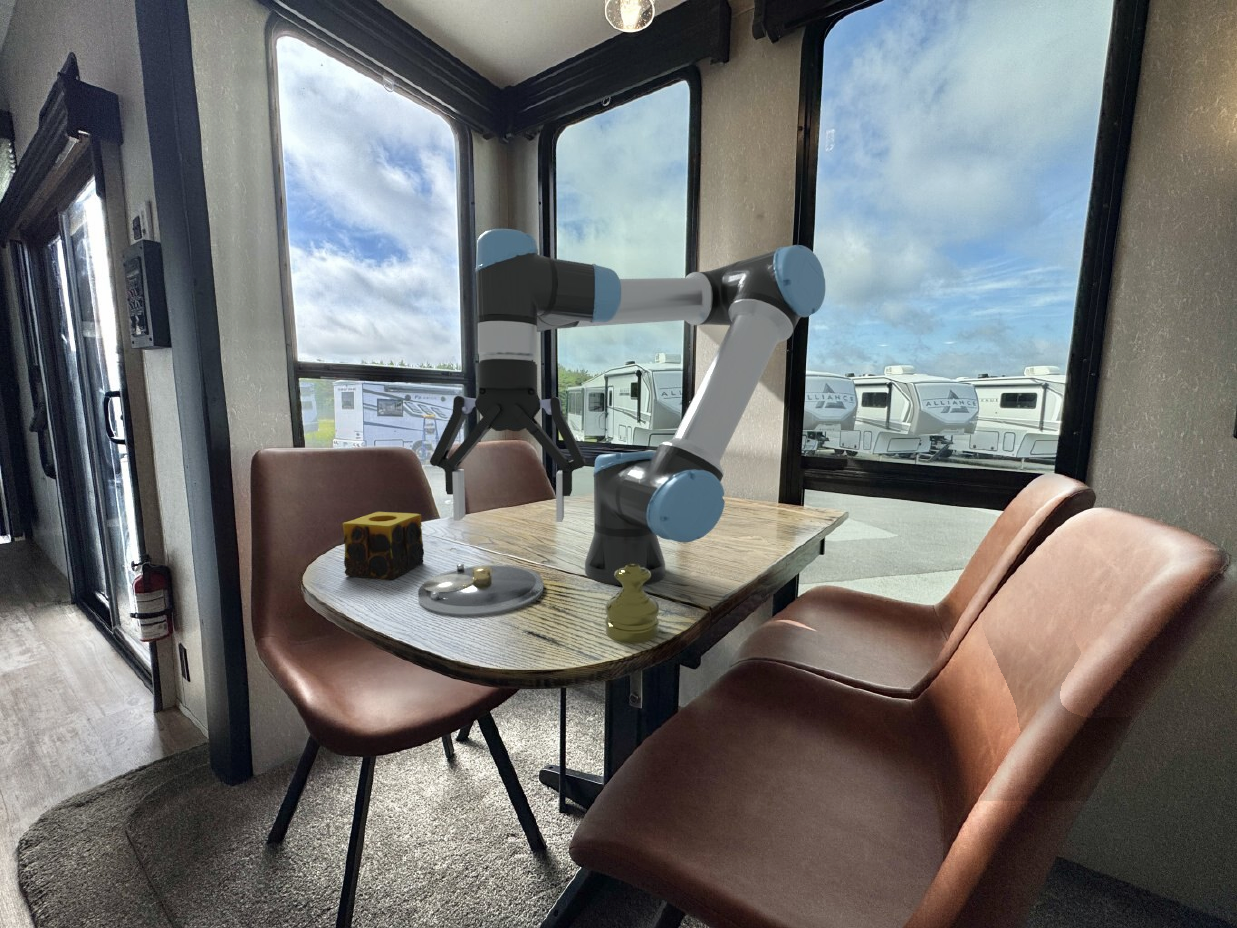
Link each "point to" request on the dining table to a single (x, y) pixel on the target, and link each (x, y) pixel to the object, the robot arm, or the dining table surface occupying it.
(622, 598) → the gold pawn
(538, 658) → the dining table surface
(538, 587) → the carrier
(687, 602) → the dining table surface
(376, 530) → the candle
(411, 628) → the dining table surface
